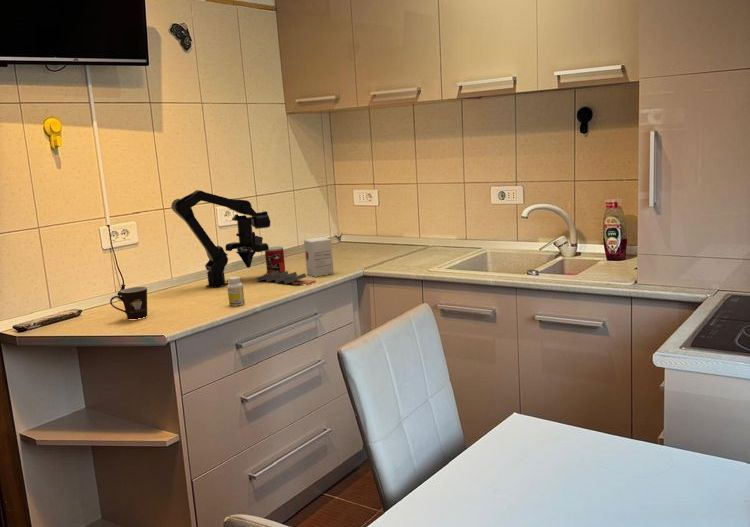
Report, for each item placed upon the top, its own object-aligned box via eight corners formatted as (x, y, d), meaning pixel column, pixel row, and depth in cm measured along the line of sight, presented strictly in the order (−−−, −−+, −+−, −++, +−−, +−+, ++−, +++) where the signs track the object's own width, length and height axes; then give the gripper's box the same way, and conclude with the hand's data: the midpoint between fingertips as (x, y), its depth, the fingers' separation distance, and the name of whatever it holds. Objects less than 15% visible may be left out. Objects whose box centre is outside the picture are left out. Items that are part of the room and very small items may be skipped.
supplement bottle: (238, 302, 253) (235, 275, 251) (247, 303, 250) (245, 276, 248) (226, 305, 249) (223, 278, 247) (236, 307, 246) (233, 279, 244)
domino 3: (276, 283, 281) (287, 278, 276) (274, 279, 281) (286, 274, 276) (285, 280, 285) (297, 275, 279) (283, 276, 285) (295, 271, 279)
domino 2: (266, 282, 284) (280, 277, 280) (265, 278, 284) (279, 273, 280) (274, 279, 288) (288, 274, 284) (273, 276, 288) (287, 270, 284)
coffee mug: (153, 313, 244) (149, 286, 242) (146, 320, 236) (142, 291, 234) (120, 316, 244) (116, 288, 242) (111, 323, 236) (107, 294, 234)
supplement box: (306, 274, 295) (303, 239, 292) (325, 271, 299) (322, 236, 296) (314, 277, 287) (311, 241, 284) (334, 274, 291) (331, 238, 288)
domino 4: (284, 284, 278) (297, 280, 273) (283, 280, 278) (295, 276, 273) (294, 281, 282) (306, 276, 276) (292, 277, 282) (304, 273, 276)
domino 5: (292, 285, 278) (308, 286, 274) (292, 281, 277) (308, 282, 273) (299, 283, 282) (316, 284, 278) (299, 279, 282) (315, 280, 277)
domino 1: (257, 281, 287) (271, 276, 282) (256, 278, 287) (270, 272, 282) (265, 279, 291) (279, 273, 286) (264, 275, 291) (277, 270, 286)
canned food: (263, 274, 301) (261, 249, 299) (274, 270, 308) (272, 246, 306) (278, 275, 298) (275, 249, 296) (288, 271, 304) (286, 246, 302)
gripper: (275, 227, 289) (278, 264, 292) (240, 227, 299) (244, 263, 301) (258, 231, 280) (261, 270, 283) (222, 231, 289) (226, 268, 292)
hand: (248, 267), depth 290 cm, fingers closed
